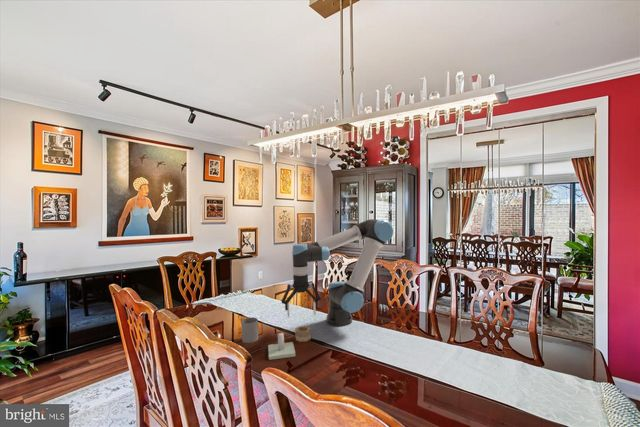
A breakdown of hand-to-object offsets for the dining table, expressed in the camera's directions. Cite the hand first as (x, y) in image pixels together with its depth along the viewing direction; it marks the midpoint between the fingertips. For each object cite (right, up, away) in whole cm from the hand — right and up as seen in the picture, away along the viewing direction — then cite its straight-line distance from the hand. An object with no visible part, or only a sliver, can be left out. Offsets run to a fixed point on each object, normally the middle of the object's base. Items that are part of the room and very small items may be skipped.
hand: (301, 315), depth 158 cm
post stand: (-9, -13, -14) cm, 21 cm away
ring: (+1, -12, 0) cm, 12 cm away
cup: (-27, -13, +2) cm, 30 cm away
